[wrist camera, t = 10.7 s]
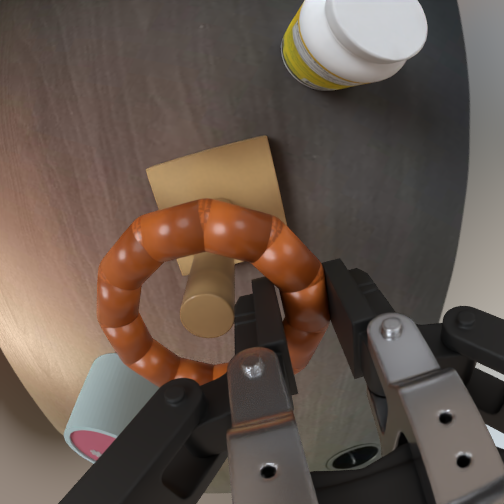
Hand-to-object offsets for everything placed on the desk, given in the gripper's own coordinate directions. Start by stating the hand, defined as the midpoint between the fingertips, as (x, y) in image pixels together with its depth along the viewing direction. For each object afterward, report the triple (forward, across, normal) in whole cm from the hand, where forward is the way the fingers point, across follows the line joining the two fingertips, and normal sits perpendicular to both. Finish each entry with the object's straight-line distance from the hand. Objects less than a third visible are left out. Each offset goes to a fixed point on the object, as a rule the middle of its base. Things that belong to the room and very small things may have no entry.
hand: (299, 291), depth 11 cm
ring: (0, +3, 0) cm, 3 cm away
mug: (+14, +17, +17) cm, 28 cm away
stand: (+14, +3, 0) cm, 14 cm away
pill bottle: (+14, -7, -10) cm, 19 cm away
